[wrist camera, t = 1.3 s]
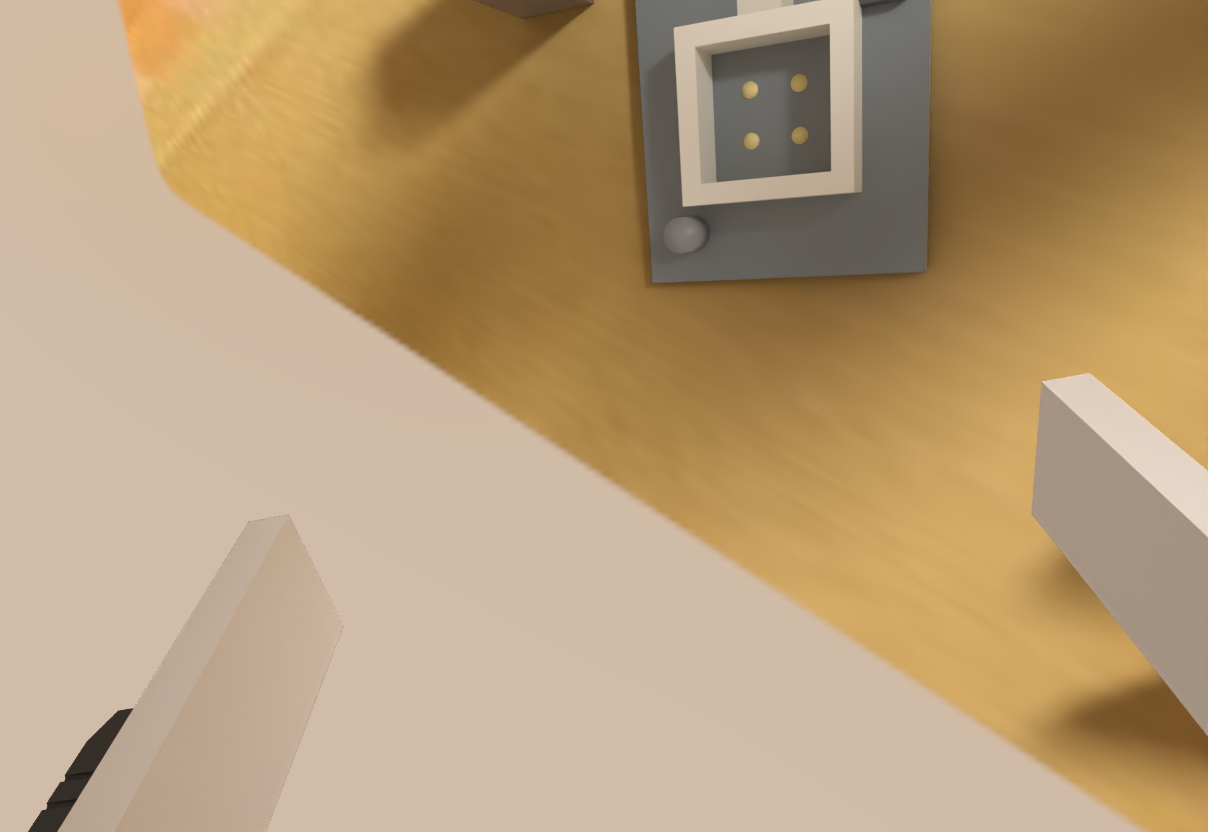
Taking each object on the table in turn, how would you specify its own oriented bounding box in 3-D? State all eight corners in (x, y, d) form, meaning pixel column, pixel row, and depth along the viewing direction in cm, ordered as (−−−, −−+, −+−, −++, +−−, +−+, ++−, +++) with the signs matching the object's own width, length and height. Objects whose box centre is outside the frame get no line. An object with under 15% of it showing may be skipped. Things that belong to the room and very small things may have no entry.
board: (640, -33, 41) (611, -51, 38) (934, -99, 35) (928, -127, 32) (659, 281, 45) (634, 287, 42) (927, 270, 39) (921, 276, 36)
